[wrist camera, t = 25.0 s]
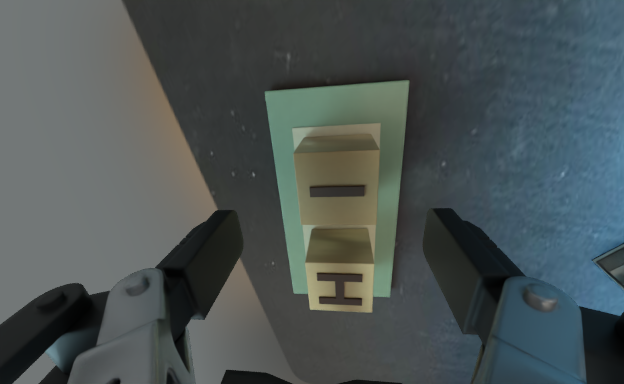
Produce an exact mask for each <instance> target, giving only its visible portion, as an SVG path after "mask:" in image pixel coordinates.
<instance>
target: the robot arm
mask: <svg viewBox="0 0 624 384" xmlns="http://www.w3.org/2000/svg"><path fill="white" fill-rule="evenodd" d="M242 251H243V237H242V232H241V228H240V224H239V220H238V216H237V213H236V211H234V210H217V211H215V212H214V213H213V214H212V215H211V216H210V218H209V219H208V220H207V221H206V222H203V223H201V224H200V225H198V226H197V227H195V228H193V229H192V230H191V231H190V232H189V234H188V235H187V236H186V238H184V239H183V240H182V241H181V242H180V243H179V245H177V246H176V247H175V248H174V249H173V250H172V251H171V252H170V253H169V254H168V255H167V256H166V257H165V258H164V259H163V260H162V261H161V262H160V263H159V264H158V265H157V266H156V267H155V268H148V269H143V270H140V271H137V272H134V273H132V274H130V275H128V276H127V277H125V278H124V279H122V280H121V281H119V282H118V283H117V284H116V285H115V286H114V287H113V288H112V289H111V291H107V292H102V293H97V294H92V295H89V294H88V293H87V291H86V289H85V288H84V287H83V285H82V284H79V283H72V284H67V285H63V286H60V287H57V288H55V289H52V290H50V291H48V292H46V293H44V294H42V295H40V296H39V297H37V298H36V299H34V300H33V301H31V302H30V303H28V304H27V305H26V306H25V307H23V308H22V309H20V310H19V311H18V312H16V313H15V314H14V315H12V316H11V317H10V318H9V319H7V320H6V321H5V322H3V323H2V324H1V325H0V384H12V383H13V382H14V381H15V380H17V379H18V378H19V377H20V376H21V375H22V374H23V373H24V372H25V371H26V370H27V369H28V368H29V367H30V366H31V365H32V364H33V363H34V362H35V361H36V360H37V359H38V358H39V357H40V356H41V355H42V354H43V353H44V352H45V353H46V354H47V355H48V356H49V357H50V358H51V359H52V360H53V362H54V363H55V364H56V366H55V367H54V368H53V369H52V370H51V372H49V373H48V374H47V375H46V377H45V378H44V379H43V380H42V381H41V382H40V383H39V384H196V383H195V376H194V369H193V361H192V354H191V346H190V338H189V332H188V329H187V324H188V323H189V321H190V320H191V319H199V320H204V319H205V318H206V315H207V314H208V312H209V311H210V308H211V307H212V305H213V303H214V302H215V300H216V298H217V296H218V295H219V293H220V291H221V289H222V287H223V286H224V284H225V282H226V280H227V279H228V277H229V275H230V273H231V271H232V270H233V268H234V266H235V264H236V262H237V261H238V259H239V257H240V255H241V253H242ZM423 251H424V255H425V257H426V260H427V262H428V264H429V266H430V268H431V270H432V272H433V274H434V276H435V278H436V280H437V282H438V284H439V286H440V288H441V290H442V292H443V294H444V296H445V298H446V300H447V302H448V304H449V307H450V309H451V311H452V313H453V315H454V317H455V319H456V321H457V323H458V325H459V327H460V329H461V331H462V333H463V334H475V335H479V337H480V339H481V341H482V345H481V348H480V351H479V354H478V358H477V361H476V365H475V368H474V372H473V375H472V378H471V382H470V384H624V312H623V313H622V315H621V316H617V315H613V314H609V313H605V312H601V311H596V310H592V309H588V308H584V307H580V306H578V305H577V303H576V302H575V301H574V300H573V299H572V298H571V297H570V296H568V295H567V294H566V293H565V292H563V291H562V290H560V289H558V288H557V287H555V286H553V285H551V284H549V283H546V282H544V281H541V280H538V279H535V278H531V277H526V276H525V275H524V274H523V273H522V272H521V270H520V269H519V268H518V267H517V266H516V265H515V264H514V263H513V262H512V261H511V260H510V259H509V258H508V257H507V256H506V255H505V254H504V253H503V252H502V251H501V250H500V248H497V245H496V244H495V243H494V242H493V241H492V240H490V239H489V237H488V236H487V235H486V234H485V233H484V232H483V231H482V230H481V229H480V228H479V227H477V226H475V225H473V224H472V223H470V222H468V221H463V220H462V219H461V218H460V217H459V216H458V215H457V214H456V213H455V211H454V210H453V209H451V208H431V209H429V210H428V213H427V219H426V225H425V231H424V238H423ZM221 384H292V383H290V382H287V381H285V380H282V379H280V378H278V377H275V376H273V375H271V374H268V373H261V372H249V371H236V370H226V372H225V374H224V377H223V380H222V382H221ZM339 384H402V383H392V382H379V381H366V380H352V381H348V382H344V383H339Z"/></svg>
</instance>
